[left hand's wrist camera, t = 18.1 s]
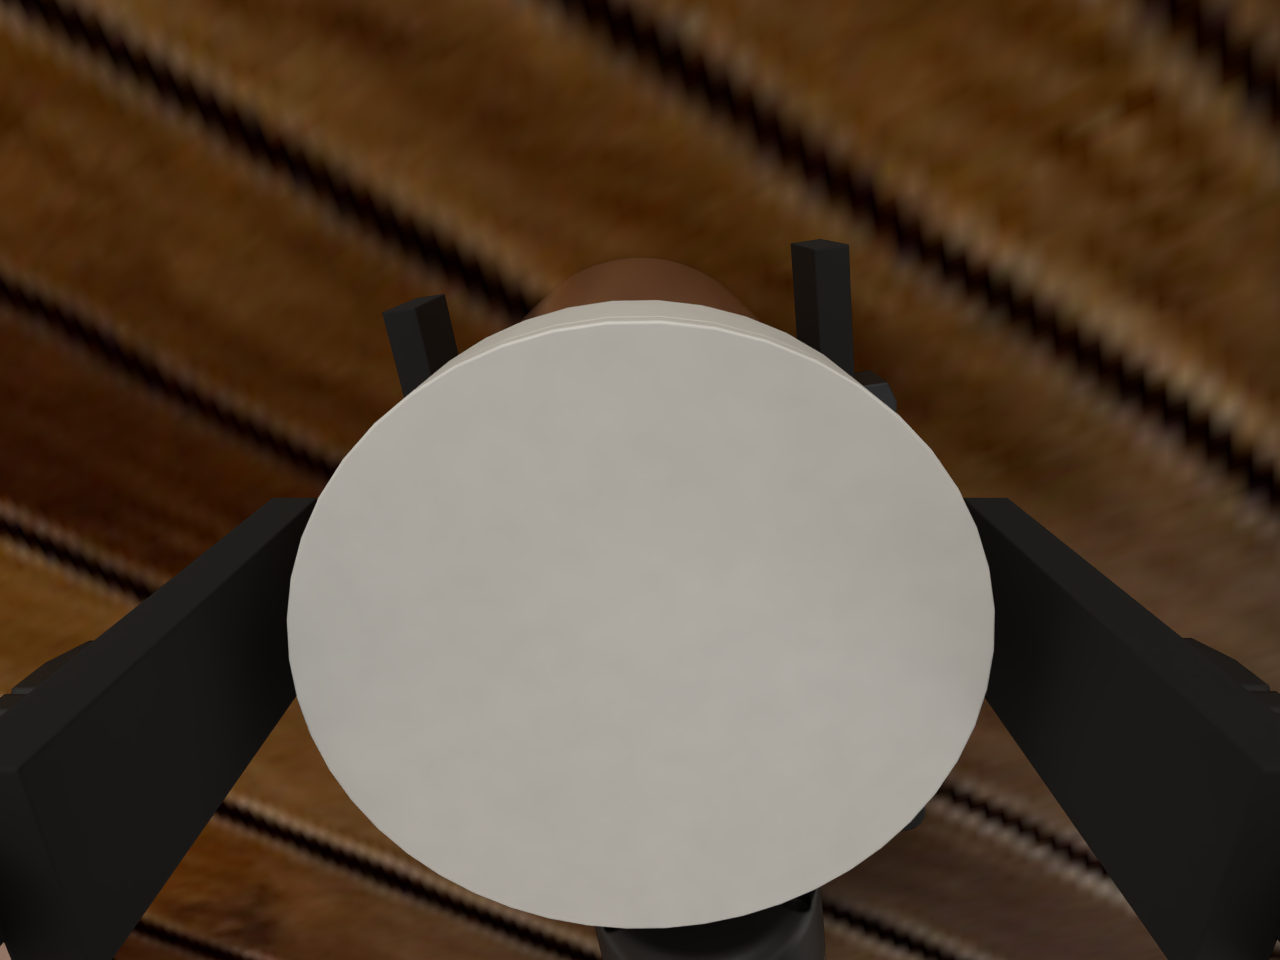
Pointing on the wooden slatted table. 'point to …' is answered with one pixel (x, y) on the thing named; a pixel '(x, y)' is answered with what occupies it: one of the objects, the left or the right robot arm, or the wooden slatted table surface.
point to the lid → (640, 618)
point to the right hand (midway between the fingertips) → (613, 274)
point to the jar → (640, 287)
